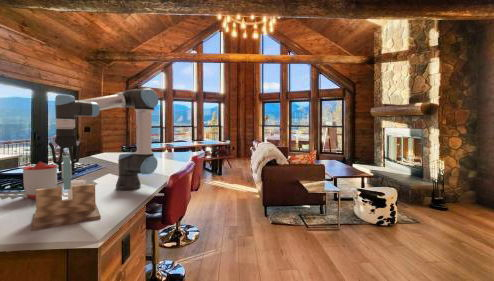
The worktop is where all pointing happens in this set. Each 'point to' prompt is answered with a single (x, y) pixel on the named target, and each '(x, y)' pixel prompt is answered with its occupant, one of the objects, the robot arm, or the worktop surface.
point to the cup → (73, 183)
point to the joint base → (65, 219)
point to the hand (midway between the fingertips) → (66, 177)
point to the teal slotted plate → (67, 172)
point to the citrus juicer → (39, 178)
